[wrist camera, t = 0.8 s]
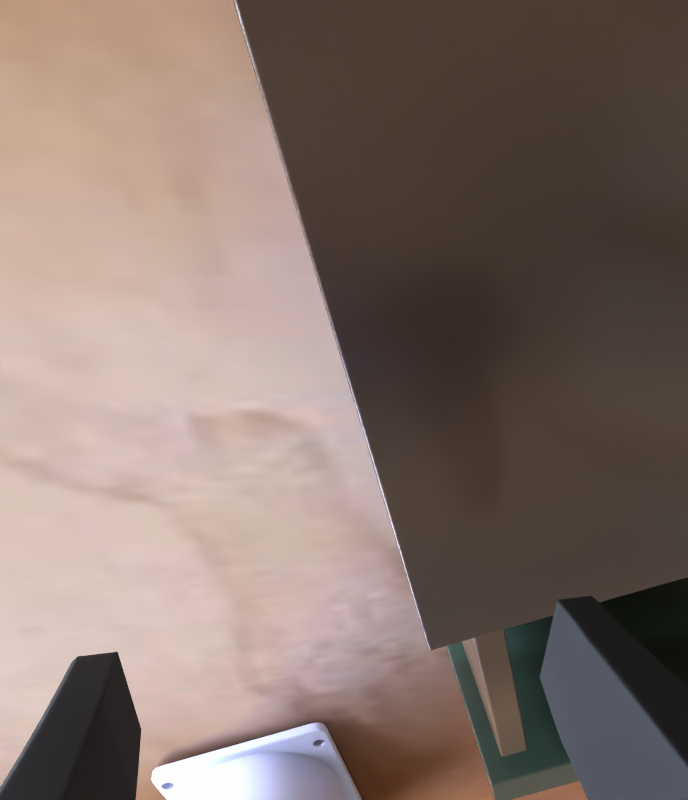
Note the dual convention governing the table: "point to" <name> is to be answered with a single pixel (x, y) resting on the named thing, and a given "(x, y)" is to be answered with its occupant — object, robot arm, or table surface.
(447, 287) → the cabinet
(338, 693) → the table surface
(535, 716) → the drawer
